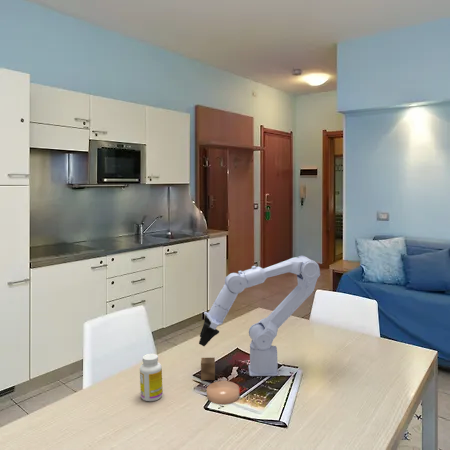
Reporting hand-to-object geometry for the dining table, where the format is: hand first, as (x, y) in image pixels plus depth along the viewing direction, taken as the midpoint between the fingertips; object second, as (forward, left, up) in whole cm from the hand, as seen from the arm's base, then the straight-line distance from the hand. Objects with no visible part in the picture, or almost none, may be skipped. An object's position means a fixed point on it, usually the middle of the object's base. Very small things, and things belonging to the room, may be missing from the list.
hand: (201, 341), depth 141 cm
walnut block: (-2, +1, -12) cm, 12 cm away
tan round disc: (-7, +13, -13) cm, 19 cm away
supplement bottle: (+15, +13, -12) cm, 24 cm away
